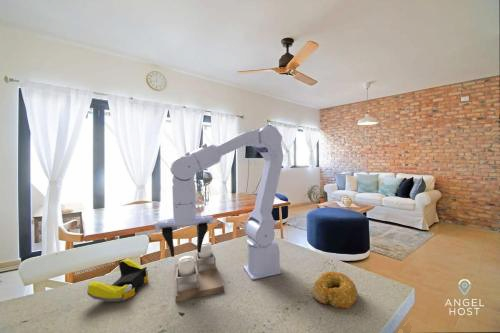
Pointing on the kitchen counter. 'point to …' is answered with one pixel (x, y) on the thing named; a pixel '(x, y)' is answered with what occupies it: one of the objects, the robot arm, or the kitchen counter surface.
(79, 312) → the kitchen counter surface
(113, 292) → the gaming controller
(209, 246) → the knob right
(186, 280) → the knob board
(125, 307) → the kitchen counter surface
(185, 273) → the knob left
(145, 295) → the kitchen counter surface
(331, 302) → the bagel
